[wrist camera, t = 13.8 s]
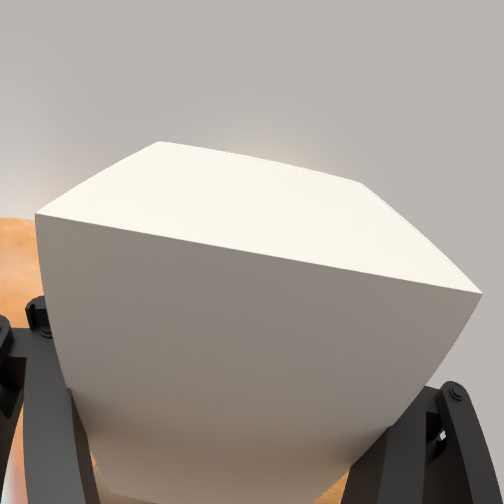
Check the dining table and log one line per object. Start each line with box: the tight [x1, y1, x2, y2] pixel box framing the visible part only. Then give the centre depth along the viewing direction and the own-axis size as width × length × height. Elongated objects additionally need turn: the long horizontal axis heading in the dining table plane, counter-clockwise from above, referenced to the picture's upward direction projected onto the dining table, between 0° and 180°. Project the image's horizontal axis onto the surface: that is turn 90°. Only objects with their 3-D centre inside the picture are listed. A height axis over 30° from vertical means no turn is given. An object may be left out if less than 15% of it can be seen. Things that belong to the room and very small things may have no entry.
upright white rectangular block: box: [35, 141, 483, 504], centre depth 11 cm, size 8×8×12 cm
